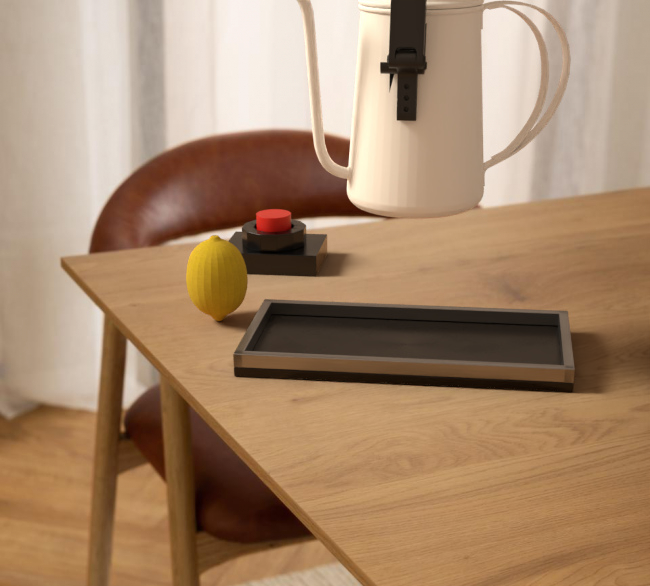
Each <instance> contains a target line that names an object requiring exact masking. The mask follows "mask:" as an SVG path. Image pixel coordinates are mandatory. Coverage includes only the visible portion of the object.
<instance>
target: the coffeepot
mask: <svg viewBox="0 0 650 586" xmlns="http://www.w3.org/2000/svg"><path fill="white" fill-rule="evenodd" d="M296 2H297V4H298V6H299V9H300V11H301V17H302V27H303V37H304V39H303V40H304V49H305V50H304V51H305V61H306V62H305V63H306V73H307V74H306V75H307V82H308V83H307V85H308V94H309V96H308V97H309V98H308V99H309V109H310V121H311V129H312V130H311V131H312V139H313V147H314V151H315V154H316V157H317V160H318V161H319V163H320V165H321V166H322V168H323V169H324V170H325V171H326V172H328V173H330V174H331V175H332V176H334V177H337V178H340V179H344V180H347V181H346V195H347V197H348V199H349V201H350V202H351V203H352V204H353V206H355V207H356V208H358V209H359V210H361V211H364V212H366V213H369V214H373V215H377V216H381V217H388V218H394V219H395V218H397V219H398V218H399V219H416V220H419V219H421V220H423V219H439V218H446V217H453V216H457V215H460V214H463V213H466V212H469V211H471V210H472V209H474V208H475V207H477V206H478V205H479V203H481V201H482V199H483V197H484V193H485V186H486V185H485V183H486V181H485V180H486V179H485V178H486V172H487V170H489V169H490V168H492V167H494V166H496V165H498V164H500V163H501V162H503V161H506V160H507V159H509V158H512V156H514V155H516V154H517V153H519V152H520V151H521V150H523V149H524V148H525V147H527V146H528V145H529V144H530V143H531V142H533V140H534V139H535V138H536V137H537V136H539V134H540V133H541V132H542V131H543V130H544V128H546V126H547V125H548V124H549V122H550V121H551V119H552V118H553V117H554V115H555V113H556V111H557V110H558V108H559V106H560V104H561V101H562V100H563V97H564V94H565V93H566V90H567V85H568V81H569V78H570V74H571V73H570V72H571V71H570V70H571V60H572V59H571V58H572V57H571V51H570V44H569V41H568V38H567V35H566V33H565V30H564V29H563V27H562V26H561V24H560V21H558V20H557V19H556V18H555V17H554V16H553V14H551V13H550V12H548V10H545V9H543V8H541V7H538V6H537V5H534V4H531V3H526V2H522V1H516V0H493V1H488V2H485V0H427V5H426V23H427V28H426V54H425V56H426V62H427V69H426V70H425V74H418V87H417V115H416V121H397V100H398V99H397V74H394V77H393V81H392V85H391V89H390V93H389V84H390V74H381V73H380V62H387V55H388V54H389V37H390V10H391V0H357V3H358V4H357V8H358V10H360V12H359V25H358V37H357V51H356V64H355V77H354V86H353V87H354V90H353V101H352V114H351V115H352V116H351V127H350V139H349V140H350V141H349V155H348V165H347V167H346V166H342V165H340V164H338V163H336V162H334V160H333V159H332V158H331V156H330V154H329V152H328V148H327V145H326V141H325V130H324V121H323V109H322V108H323V107H322V106H323V105H322V95H321V84H320V83H321V82H320V72H319V57H318V47H317V46H318V45H317V35H316V34H317V32H316V23H315V13H314V8H313V4H312V2H311V0H296ZM509 5H510V6H509ZM511 5H512V6H516V5H517V6H523V7H527V8H531V9H533V10H535V11H537V12H539V13H540V14H542V15H543V16H544V17H545V18H546V19H547V20H548V21H549V22H550V23H551V25H552V26H553V28H554V30H555V31H556V34H557V36H558V39H559V43H560V45H561V55H562V64H561V72H560V73H561V74H560V76H559V81H558V85H557V88H556V90H555V93H554V95H553V98H552V100H551V102H550V104H549V106H548V108H547V110H546V111H545V113H543V116H542V117H541V119H540V120H539V121H538V119H539V117H540V115H541V113H542V112H543V108H544V105H545V102H546V98H547V94H548V90H549V81H550V80H549V79H550V63H549V53H548V49H547V44H546V41H545V40H544V37H543V35H542V33H541V31H540V30H539V28H538V26H537V25H536V24H535V23H534V22H533V20H532V19H530V18H529V16H527V15H526V14H525V13H523V12H521V10H518V9H516V8H515V7H512V6H511ZM500 8H502V9H506V10H509V11H510V12H512V13H514V14H516V15H517V16H519V17H520V18H521V19H522V20H523V21H524V22H525V23H526V24H527V26H528V27H529V29H530V30H531V31H532V33H533V35H534V37H535V39H536V42H537V45H538V50H539V54H540V55H539V56H540V68H541V70H540V71H541V72H540V73H541V77H540V86H539V90H538V95H537V98H536V102H535V105H534V108H533V109H532V112H531V114H530V116H529V118H528V119H527V121H526V122H525V124H524V126H523V127H522V128H521V130H520V131H519V133H517V135H516V136H515V138H514V139H513V140H512V141H511V142H510V143H509V144H508V145H507V146H506V147H505V148H504V149H503V150H502V151H500V152H497V153H496V154H494V155H492V156H490V159H489V160H486V161H484V114H483V113H484V111H483V109H484V107H483V106H484V105H483V60H482V59H483V55H482V54H483V53H482V51H483V49H482V30H484V11H485V10H494V9H495V10H496V9H500ZM537 121H538V122H537Z"/></svg>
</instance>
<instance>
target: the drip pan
mask: <svg viewBox="0 0 650 586" xmlns="http://www.w3.org/2000/svg"><path fill="white" fill-rule="evenodd" d="M569 317H570V316H569V311H568V310H560V309H559V310H554V309H531V308H530V309H529V308H528V309H527V308H506V307H505V308H503V307H478V306H453V305H427V304H403V303H402V304H400V303H377V302H351V301H349V302H348V301H324V300H323V301H322V300H301V299H298V300H297V299H275V298H274V299H272V298H271V299H270V298H264V299H263V301H262V303H261V305H260V306H259V308H258V310H257V312H256V313H255V315H254V317H253V319H251V322H250V324H249V325H248V327H247V329H246V331H245V332H244V334H243V337H242V338H241V340H240V342H239V343H238V345H237V346H236V348H235V350H234V352H233V353H232V357H233V359H232V361H233V376H234V377H246V378H265V379H285V380H304V381H305V380H306V381H325V382H326V381H329V382H346V383H347V382H349V383H369V384H370V383H371V384H388V385H389V384H390V385H412V386H431V387H433V386H435V387H453V388H454V387H455V388H475V389H493V390H494V389H496V390H514V391H515V390H518V391H538V392H539V391H540V392H557V393H558V392H559V393H573V392H574V391H573V390H574V381H575V372H576V368H575V360H574V352H573V343H572V335H571V334H572V333H571V326H570V325H571V324H570V318H569Z"/></svg>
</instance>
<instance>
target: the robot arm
mask: <svg viewBox="0 0 650 586" xmlns="http://www.w3.org/2000/svg"><path fill="white" fill-rule="evenodd" d="M426 5H427V0H391V10H390V37H389V54H388V55H387V62H380V73H381V74H390V84H389V93H390V89H391V85H392V81H393V77H394V74H397V99H398V100H397V121H416V115H417V87H418V74H425V70H426V69H427V62H426V56H425V54H426V28H427V23H426Z"/></svg>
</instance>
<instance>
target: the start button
mask: <svg viewBox="0 0 650 586" xmlns="http://www.w3.org/2000/svg"><path fill="white" fill-rule="evenodd" d="M291 219H292V212H290V211H289V210H286V209H280V208H270V209H262V210H259V211H257V212H256V213H255V220H256V223H257V230H260V231H265V232H279V231H287V230H290V229H291Z"/></svg>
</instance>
